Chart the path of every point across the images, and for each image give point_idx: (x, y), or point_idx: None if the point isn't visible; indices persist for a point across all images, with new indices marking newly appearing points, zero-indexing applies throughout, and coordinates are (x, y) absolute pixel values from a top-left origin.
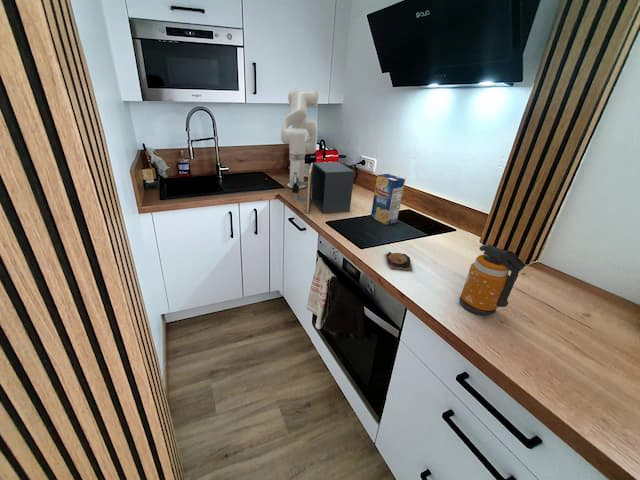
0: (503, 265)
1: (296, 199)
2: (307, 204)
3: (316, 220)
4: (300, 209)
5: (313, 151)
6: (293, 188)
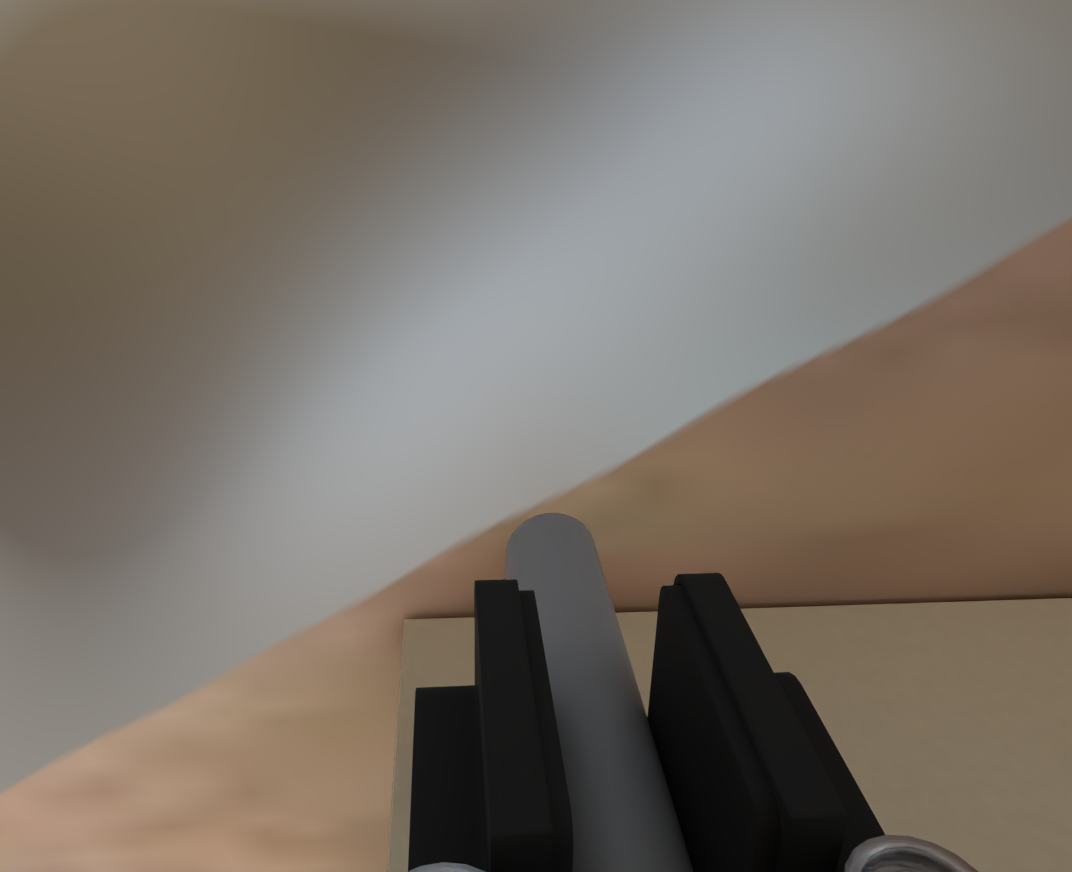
0: None
1: (507, 557)
2: (394, 764)
3: (107, 792)
4: (596, 488)
5: None
6: (482, 737)
